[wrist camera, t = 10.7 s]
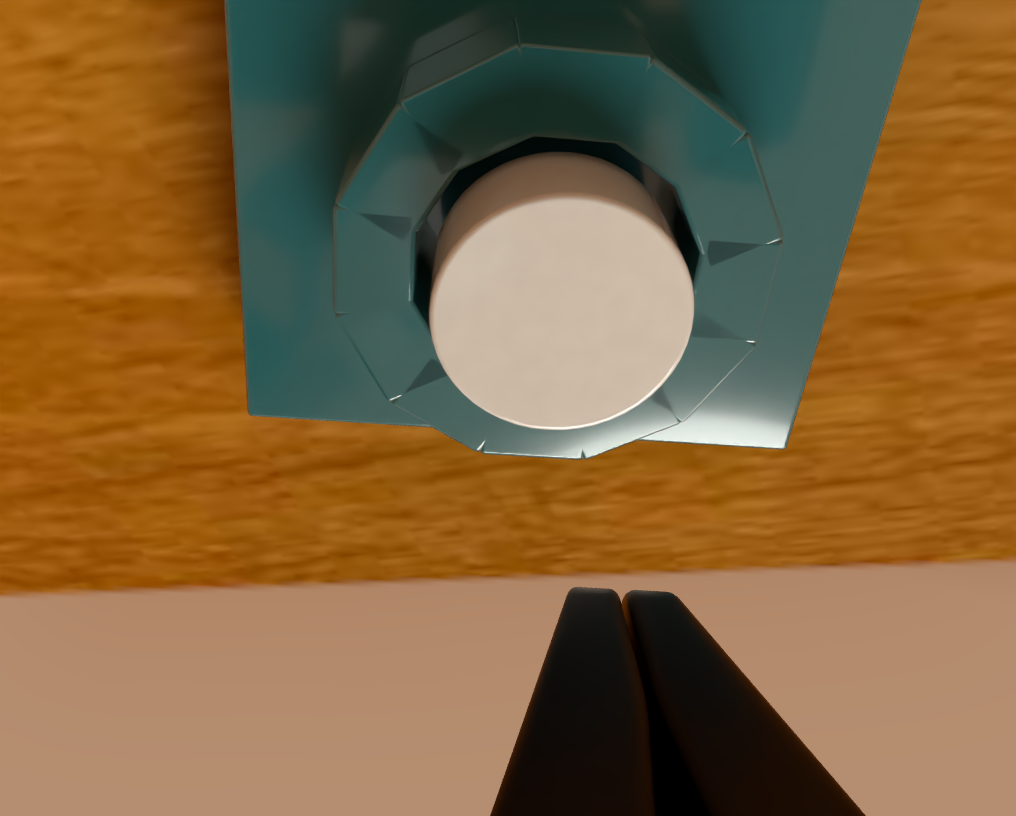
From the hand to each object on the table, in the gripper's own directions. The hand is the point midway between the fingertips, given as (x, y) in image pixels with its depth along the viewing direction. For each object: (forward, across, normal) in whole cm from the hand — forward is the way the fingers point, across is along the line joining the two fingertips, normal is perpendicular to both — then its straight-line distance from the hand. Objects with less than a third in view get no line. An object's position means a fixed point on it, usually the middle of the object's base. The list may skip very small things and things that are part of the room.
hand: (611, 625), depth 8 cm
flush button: (+7, 0, 0) cm, 7 cm away
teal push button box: (+11, 0, -2) cm, 11 cm away
